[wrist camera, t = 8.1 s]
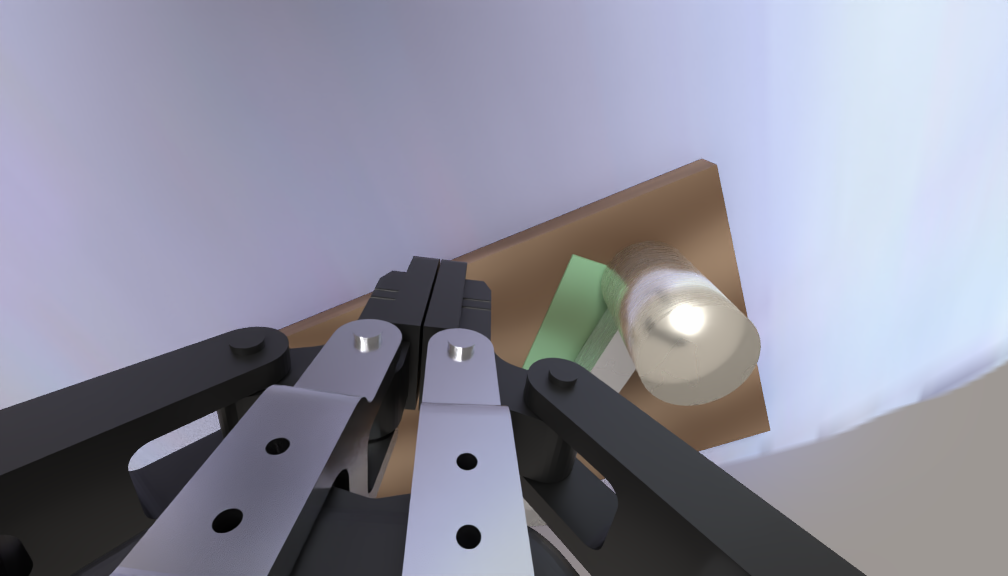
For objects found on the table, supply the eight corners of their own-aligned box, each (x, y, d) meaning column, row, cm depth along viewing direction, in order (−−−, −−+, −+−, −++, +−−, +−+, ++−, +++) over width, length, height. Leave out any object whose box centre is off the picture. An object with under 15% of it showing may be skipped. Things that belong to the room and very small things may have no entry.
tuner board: (229, 349, 24) (211, 368, 22) (701, 158, 19) (718, 165, 18) (377, 525, 30) (371, 548, 29) (756, 412, 26) (771, 432, 24)
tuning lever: (630, 227, 19) (682, 288, 13) (707, 261, 19) (786, 332, 14) (487, 466, 25) (483, 574, 20) (549, 486, 26) (561, 595, 20)
